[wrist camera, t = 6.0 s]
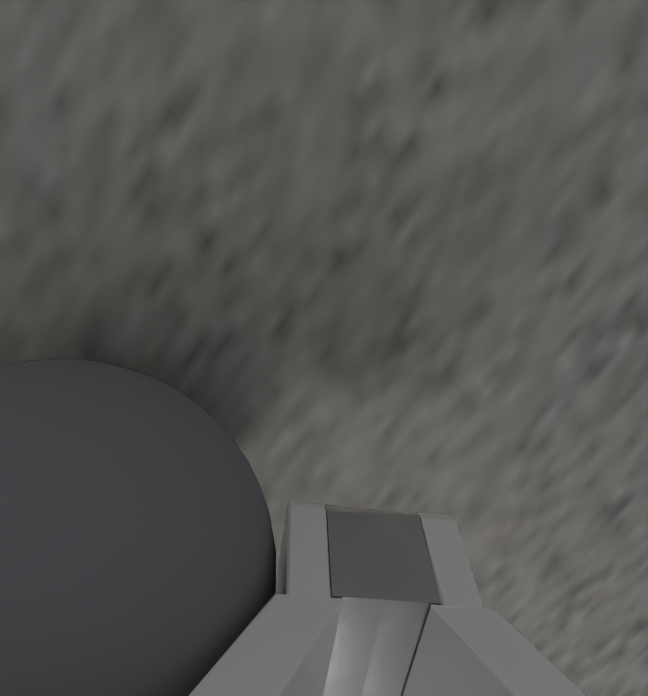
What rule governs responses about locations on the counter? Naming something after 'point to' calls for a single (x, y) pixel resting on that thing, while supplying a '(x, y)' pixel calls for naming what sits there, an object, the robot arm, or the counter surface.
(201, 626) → the dark gray ball
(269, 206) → the counter surface
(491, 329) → the counter surface
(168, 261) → the counter surface
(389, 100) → the counter surface
